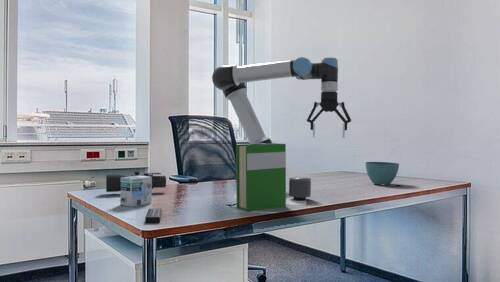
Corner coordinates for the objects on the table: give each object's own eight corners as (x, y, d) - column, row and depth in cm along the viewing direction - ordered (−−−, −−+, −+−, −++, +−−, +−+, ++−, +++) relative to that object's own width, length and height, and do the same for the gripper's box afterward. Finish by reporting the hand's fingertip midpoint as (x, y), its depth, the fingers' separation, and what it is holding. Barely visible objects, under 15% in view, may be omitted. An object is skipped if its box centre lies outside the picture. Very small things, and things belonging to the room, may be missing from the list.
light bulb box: (131, 207, 152) (131, 178, 152) (119, 205, 156) (119, 177, 155) (152, 203, 161) (152, 176, 161) (140, 201, 165) (140, 175, 165)
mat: (275, 205, 160) (275, 204, 160) (278, 198, 176) (278, 197, 176) (306, 206, 159) (306, 205, 159) (306, 199, 175) (306, 198, 175)
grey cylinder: (288, 197, 168) (289, 178, 168) (289, 193, 177) (289, 176, 177) (310, 197, 167) (311, 179, 167) (310, 194, 176) (310, 177, 176)
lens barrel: (293, 200, 170) (293, 181, 170) (293, 198, 175) (293, 179, 175) (306, 200, 169) (306, 181, 169) (306, 198, 174) (306, 180, 174)
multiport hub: (145, 224, 126) (145, 217, 126) (148, 215, 140) (148, 208, 140) (159, 224, 127) (159, 216, 127) (161, 214, 141) (161, 208, 141)
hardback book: (247, 211, 146) (247, 145, 145) (236, 208, 152) (236, 144, 151) (285, 206, 156) (285, 143, 155) (274, 203, 162) (273, 143, 161)
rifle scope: (166, 194, 185) (167, 172, 185) (106, 196, 176) (106, 173, 176) (163, 190, 195) (163, 170, 195) (106, 192, 186) (106, 171, 186)
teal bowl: (403, 184, 231) (404, 163, 231) (390, 187, 218) (391, 164, 217) (373, 181, 243) (373, 161, 243) (359, 184, 230) (359, 162, 229)
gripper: (302, 90, 186) (301, 137, 187) (357, 90, 183) (357, 137, 183) (302, 92, 194) (301, 136, 194) (355, 92, 190) (354, 137, 191)
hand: (328, 137), depth 189 cm, fingers open, 13 cm apart
